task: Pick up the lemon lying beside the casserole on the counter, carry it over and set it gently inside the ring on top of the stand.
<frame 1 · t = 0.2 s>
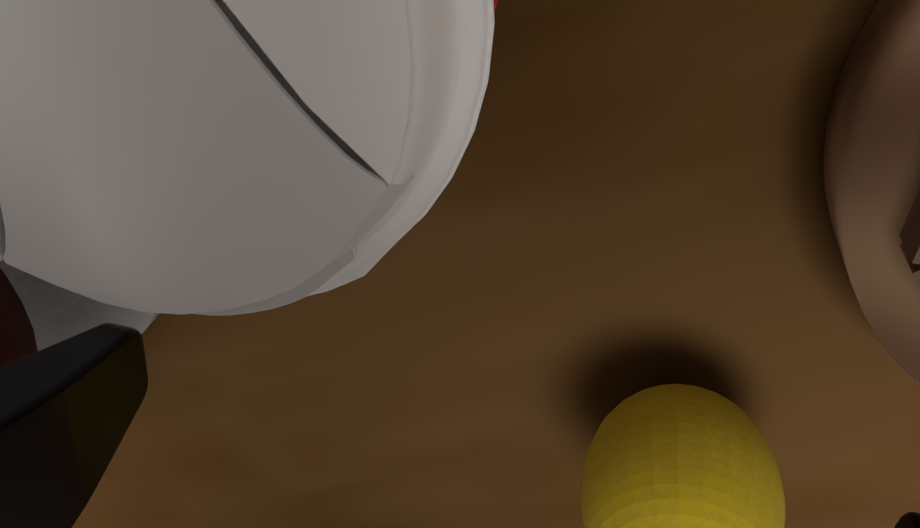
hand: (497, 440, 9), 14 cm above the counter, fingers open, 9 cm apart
lemon: (678, 396, 26), on the counter
mate gourd: (27, 227, 29), on the counter
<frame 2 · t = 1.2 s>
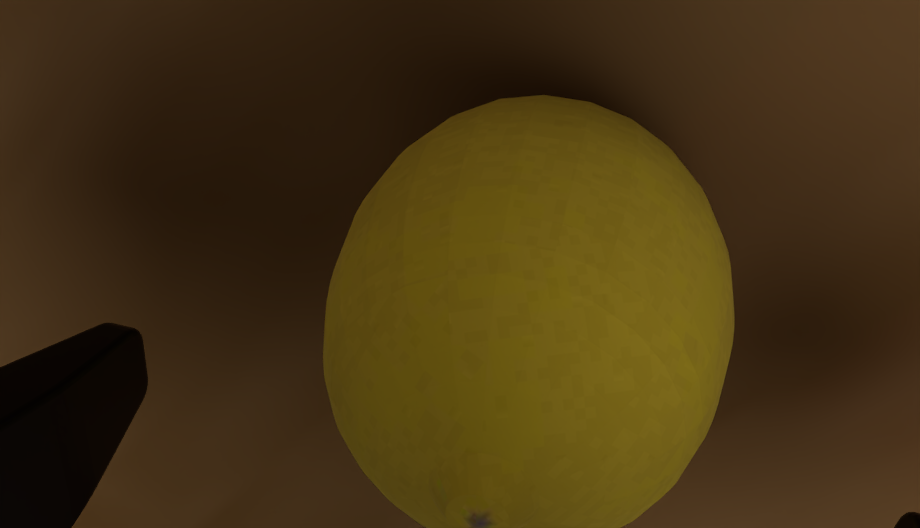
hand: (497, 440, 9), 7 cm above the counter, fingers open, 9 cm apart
lemon: (561, 174, 15), on the counter
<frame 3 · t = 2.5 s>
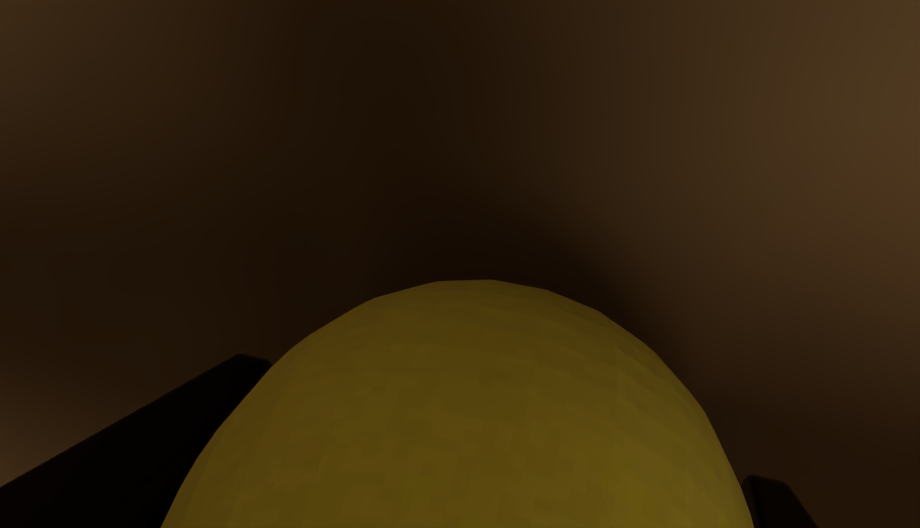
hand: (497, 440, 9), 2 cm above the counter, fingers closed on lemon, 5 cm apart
lemon: (522, 335, 11), on the counter, touching gripper
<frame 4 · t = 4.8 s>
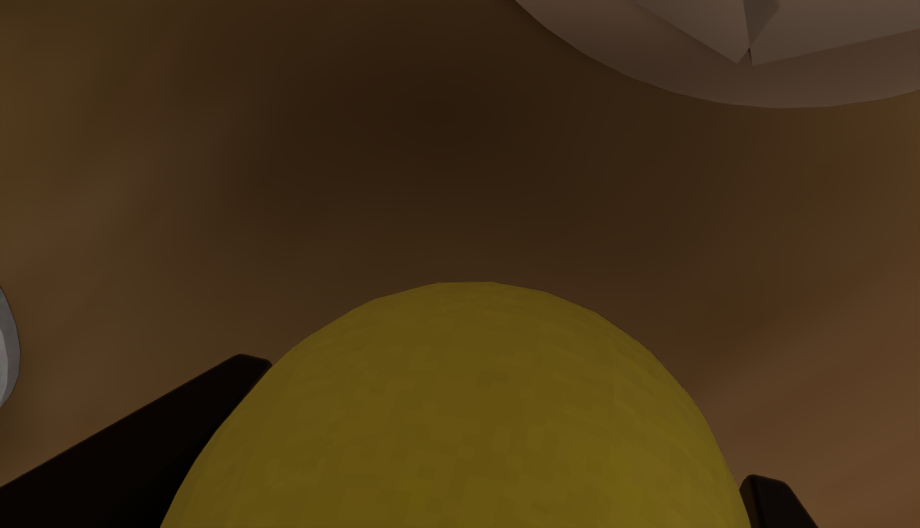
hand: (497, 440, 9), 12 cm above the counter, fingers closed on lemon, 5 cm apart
lemon: (521, 337, 11), point 10 cm above the counter, touching gripper
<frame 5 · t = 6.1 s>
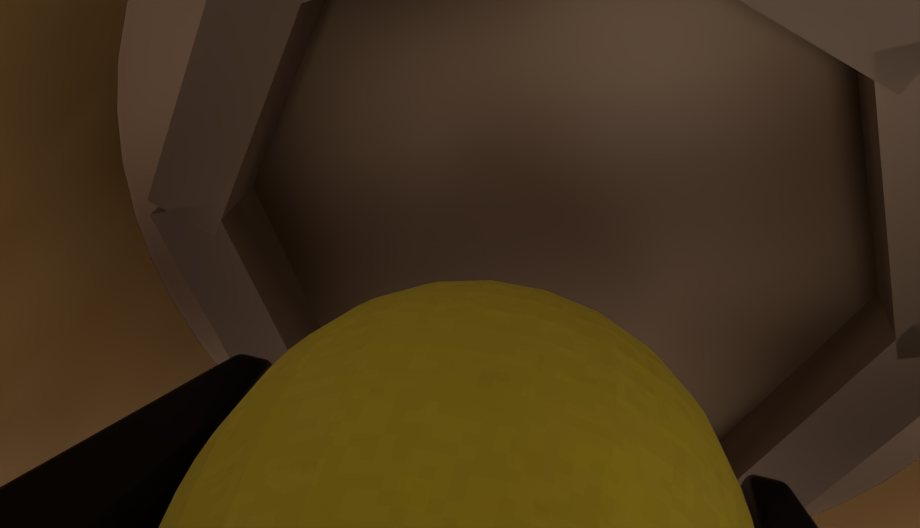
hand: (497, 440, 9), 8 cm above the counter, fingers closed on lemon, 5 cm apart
lemon: (522, 336, 11), point 6 cm above the counter, touching gripper
stand: (567, 158, 16), on the counter
when the fingers open (7 cm above the counter, at t = 7.1 s): lemon drops 2 cm, resting on stand.
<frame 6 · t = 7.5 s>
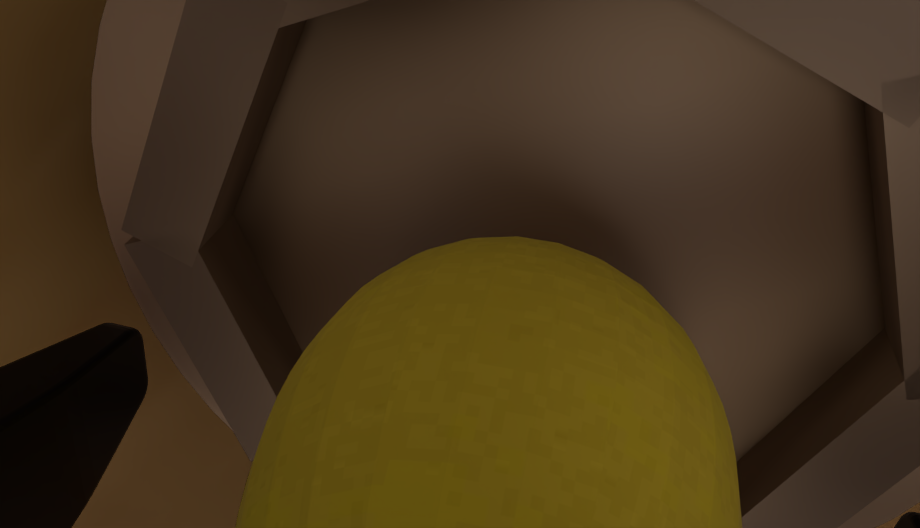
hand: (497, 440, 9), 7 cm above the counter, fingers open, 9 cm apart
lemon: (539, 271, 13), point 3 cm above the counter, touching stand
stand: (561, 182, 15), on the counter
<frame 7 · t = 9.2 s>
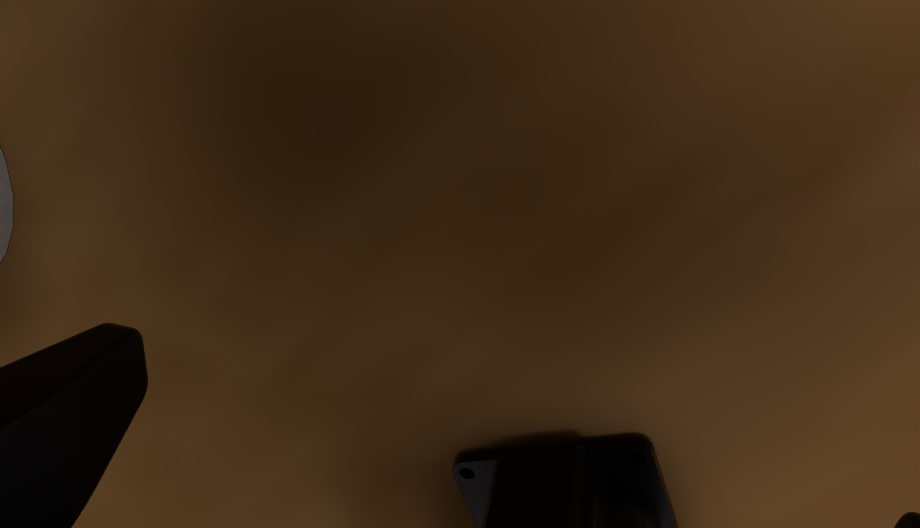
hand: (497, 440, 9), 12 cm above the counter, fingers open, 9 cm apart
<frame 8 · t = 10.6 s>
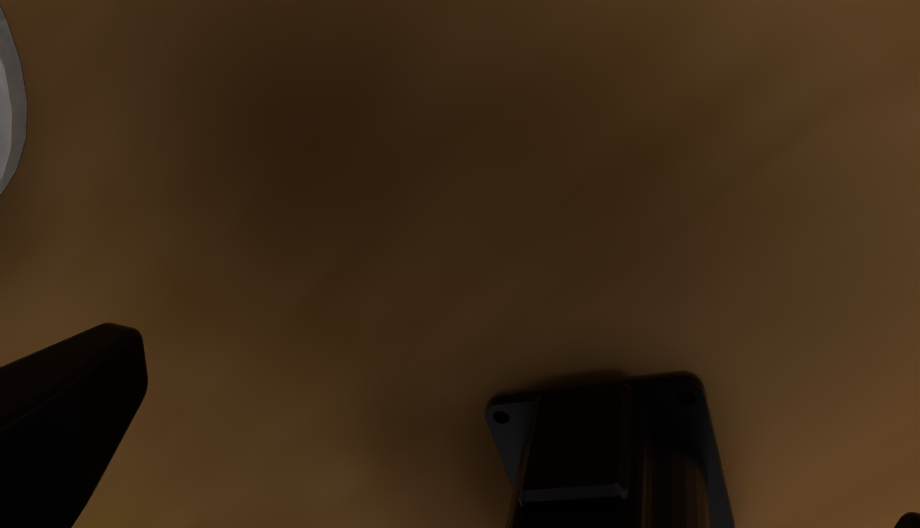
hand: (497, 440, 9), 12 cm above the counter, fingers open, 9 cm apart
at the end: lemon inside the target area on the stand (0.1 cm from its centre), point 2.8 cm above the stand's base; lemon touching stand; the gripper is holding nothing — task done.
